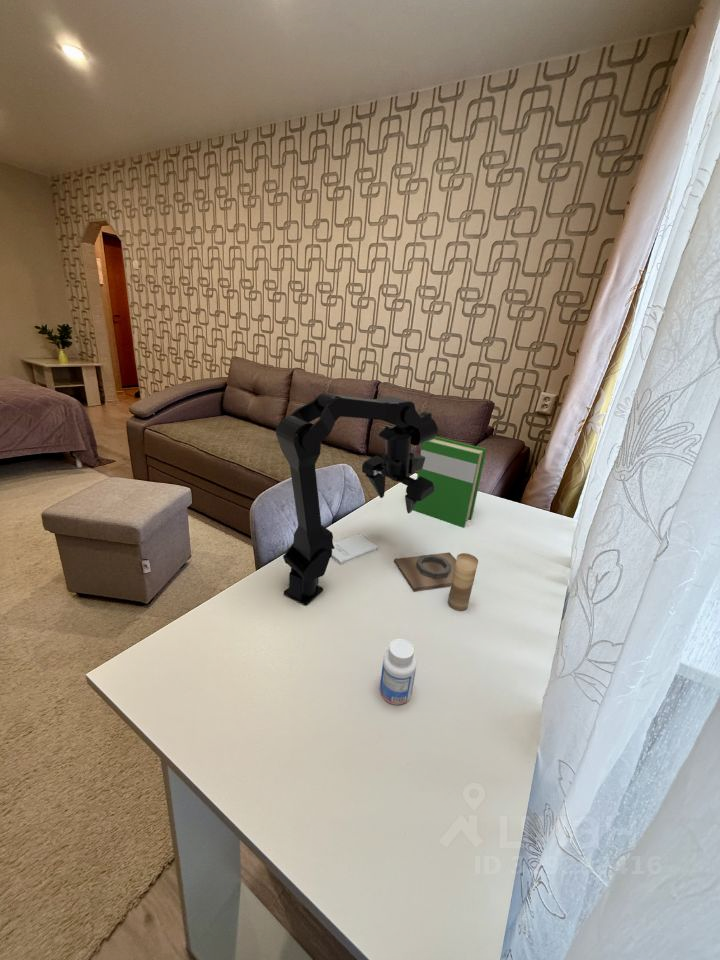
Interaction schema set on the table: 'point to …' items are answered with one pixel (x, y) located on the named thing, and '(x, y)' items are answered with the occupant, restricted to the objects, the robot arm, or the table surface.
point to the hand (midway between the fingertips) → (395, 504)
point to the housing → (427, 570)
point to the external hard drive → (352, 548)
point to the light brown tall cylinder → (462, 581)
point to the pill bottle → (398, 672)
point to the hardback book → (451, 479)
